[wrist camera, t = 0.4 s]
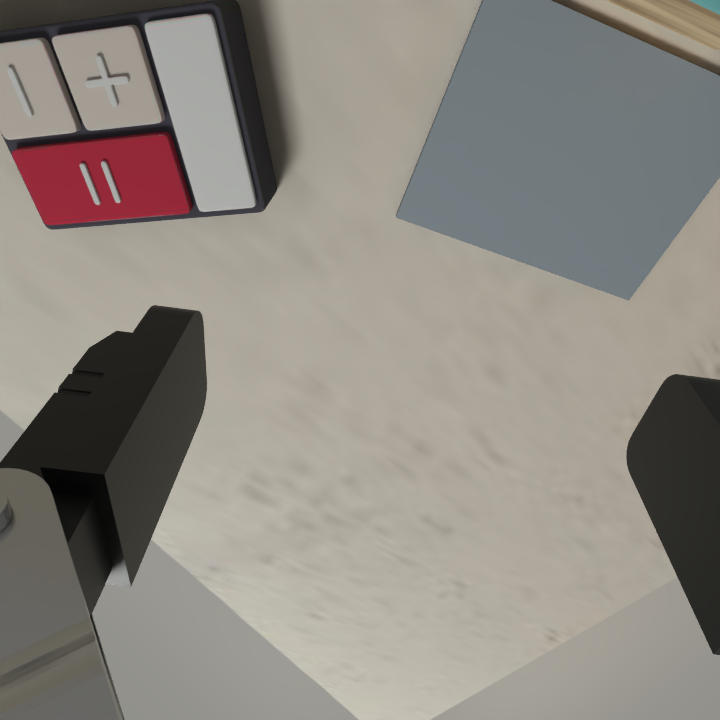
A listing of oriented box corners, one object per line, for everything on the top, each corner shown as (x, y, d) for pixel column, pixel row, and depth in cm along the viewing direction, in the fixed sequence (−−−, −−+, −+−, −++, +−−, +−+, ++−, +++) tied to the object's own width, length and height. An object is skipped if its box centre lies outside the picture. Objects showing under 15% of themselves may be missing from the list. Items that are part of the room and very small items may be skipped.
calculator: (-56, 39, 29) (214, 0, 27) (-4, 31, 32) (238, -4, 30) (39, 235, 35) (263, 217, 33) (73, 211, 38) (279, 193, 36)
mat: (492, -26, 29) (493, -26, 28) (772, 99, 32) (775, 100, 31) (395, 215, 37) (396, 217, 36) (626, 297, 39) (628, 300, 39)
